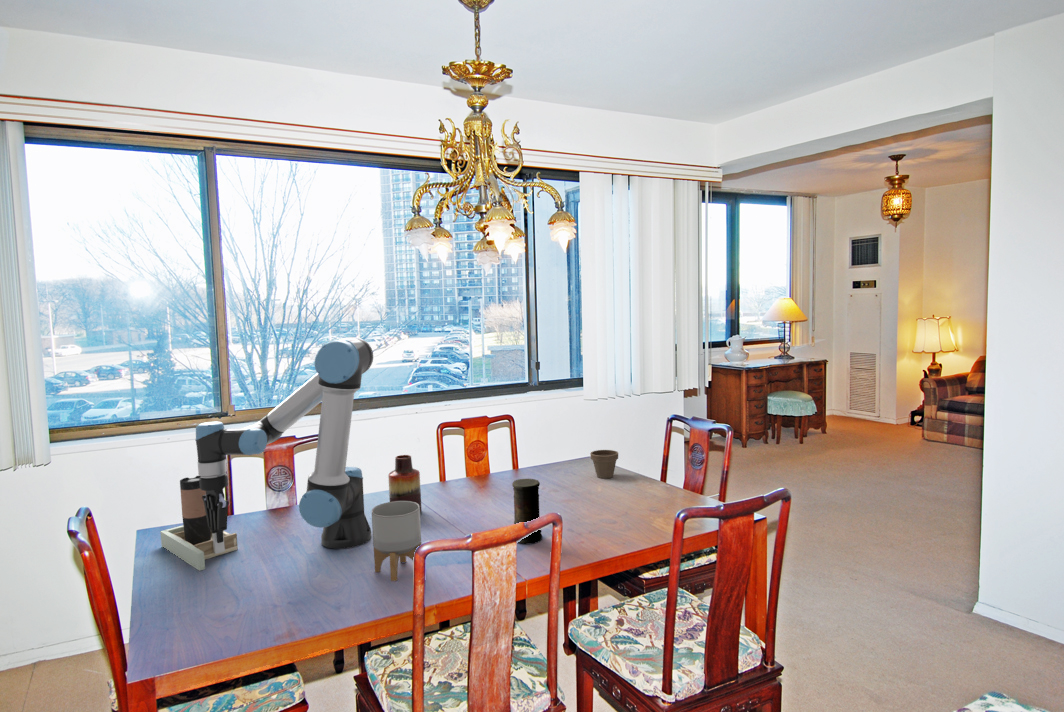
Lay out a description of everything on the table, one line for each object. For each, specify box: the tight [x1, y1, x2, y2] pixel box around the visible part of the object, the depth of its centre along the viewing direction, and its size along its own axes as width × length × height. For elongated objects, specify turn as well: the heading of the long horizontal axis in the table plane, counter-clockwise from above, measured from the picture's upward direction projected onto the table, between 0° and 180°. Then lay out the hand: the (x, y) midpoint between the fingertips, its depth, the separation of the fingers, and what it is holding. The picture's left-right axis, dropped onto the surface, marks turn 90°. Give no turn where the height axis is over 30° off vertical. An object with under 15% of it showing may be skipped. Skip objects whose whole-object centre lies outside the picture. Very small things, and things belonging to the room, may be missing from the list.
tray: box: [173, 530, 239, 560], centre depth 200 cm, size 20×12×5 cm, turn 49°
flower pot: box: [590, 449, 619, 479], centre depth 265 cm, size 12×11×10 cm
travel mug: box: [179, 475, 211, 545], centre depth 202 cm, size 8×8×20 cm
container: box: [511, 478, 543, 545], centre depth 199 cm, size 9×9×18 cm
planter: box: [371, 501, 422, 582], centre depth 178 cm, size 13×13×18 cm
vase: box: [387, 454, 422, 515], centre depth 226 cm, size 11×11×20 cm
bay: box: [159, 524, 206, 572], centre depth 198 cm, size 29×15×5 cm, turn 49°
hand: (219, 552), depth 193 cm, fingers closed
